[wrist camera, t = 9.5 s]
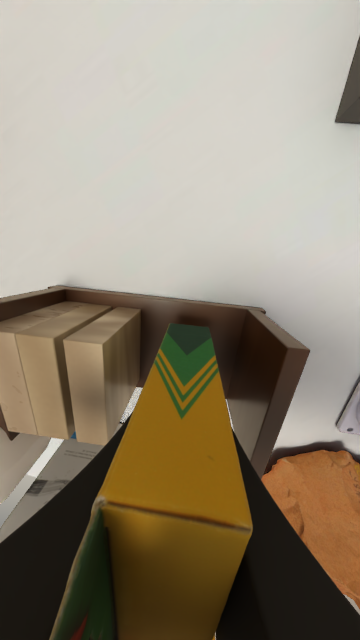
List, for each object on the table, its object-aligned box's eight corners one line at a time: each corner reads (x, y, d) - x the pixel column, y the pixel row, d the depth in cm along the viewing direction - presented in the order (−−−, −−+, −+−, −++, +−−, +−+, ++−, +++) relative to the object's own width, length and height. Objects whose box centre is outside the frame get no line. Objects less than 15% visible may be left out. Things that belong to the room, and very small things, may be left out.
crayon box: (198, 409, 14) (207, 892, 3) (162, 404, 15) (60, 852, 4) (211, 325, 12) (392, 1062, 1) (168, 320, 12) (-97, 911, 1)
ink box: (81, 443, 22) (-35, 630, 11) (81, 413, 20) (-55, 597, 9) (148, 457, 22) (100, 661, 11) (153, 428, 20) (102, 634, 9)
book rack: (261, 307, 15) (322, 351, 8) (239, 393, 18) (269, 482, 11) (56, 285, 16) (-59, 306, 9) (67, 371, 19) (-11, 439, 11)
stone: (266, 412, 21) (372, 498, 12) (352, 430, 25) (490, 508, 15) (231, 531, 21) (308, 720, 11) (322, 533, 24) (441, 680, 15)
